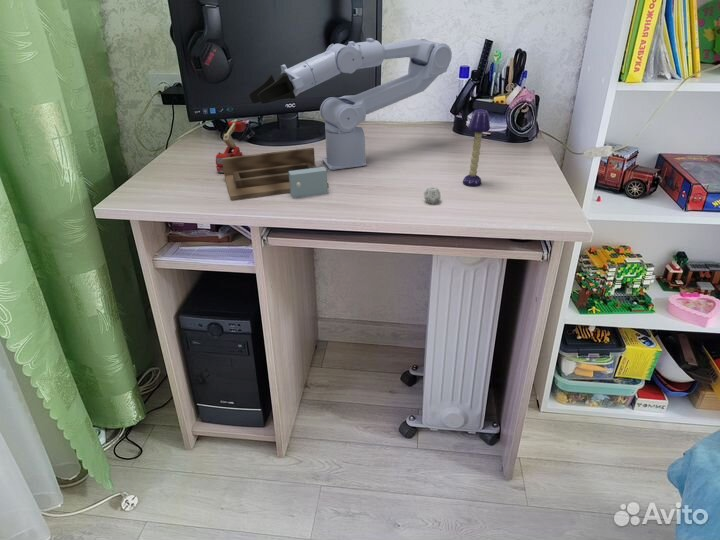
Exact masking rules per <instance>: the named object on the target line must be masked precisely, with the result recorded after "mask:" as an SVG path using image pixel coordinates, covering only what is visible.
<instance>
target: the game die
mask: <svg viewBox="0 0 720 540" xmlns="http://www.w3.org/2000/svg"><path fill="white" fill-rule="evenodd" d="M423 198H424V200H425V202H426V203H428V204H431V205H433V204H436V203H438V202H439V200H441V192H440V189H439V188H438V187H435V186H430V187H427V188H426V189H425V191H424V192H423Z"/></svg>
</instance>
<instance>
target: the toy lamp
mask: <svg viewBox="0 0 720 540" xmlns="http://www.w3.org/2000/svg"><path fill="white" fill-rule="evenodd" d="M490 124H491V123H490V117H489V111H488V110H486V109H483V108H481V109H479V108H478V109H475V110H474V111H473V113H472V115H471V119H470V120H469V124H468V126H467V127H468V130H469V131H471V132H473V134H474V137H473V144H472V151H471V159H470V162H471V163H470V165H469V168H470V169H469V172H468V173H469V174H467V175H466V176H465V177H463V180H462V183H463V185H465V186H468V187H480V186H481V185H482V178H481V177H480V176H479V175H477V174H478V171H477V169H478V167H479V161H480V157H479V156H481V155H480V154H481V151H480V150H481V147H482V146H481V145H482V144H481V143H482V136H483V133H487V132H489V131H490V129H491V126H490Z"/></svg>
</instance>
